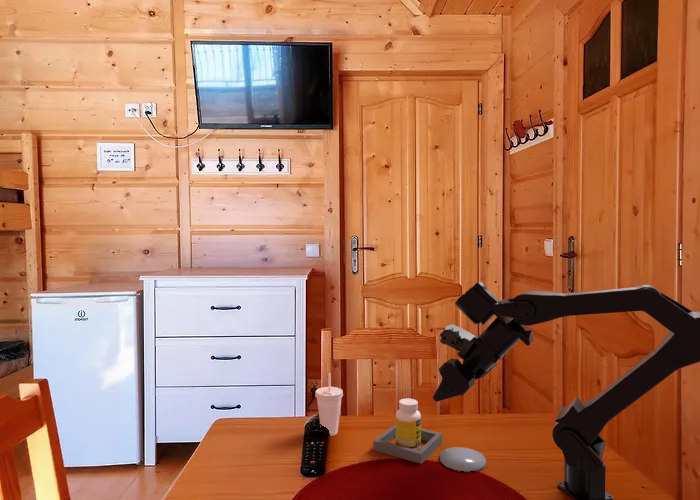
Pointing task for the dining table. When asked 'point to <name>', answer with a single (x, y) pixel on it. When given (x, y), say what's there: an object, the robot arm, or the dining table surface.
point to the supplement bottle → (408, 424)
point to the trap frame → (404, 452)
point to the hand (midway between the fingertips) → (443, 392)
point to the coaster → (462, 459)
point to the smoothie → (329, 406)
